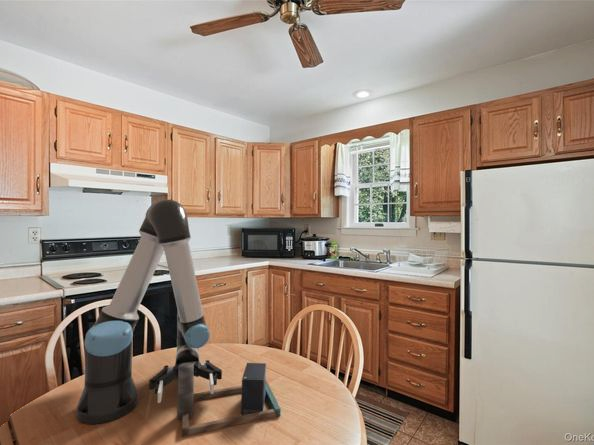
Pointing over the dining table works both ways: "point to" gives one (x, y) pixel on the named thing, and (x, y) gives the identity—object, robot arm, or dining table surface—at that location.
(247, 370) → the small box
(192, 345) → the robot arm
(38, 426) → the dining table surface
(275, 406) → the post and rail frame
